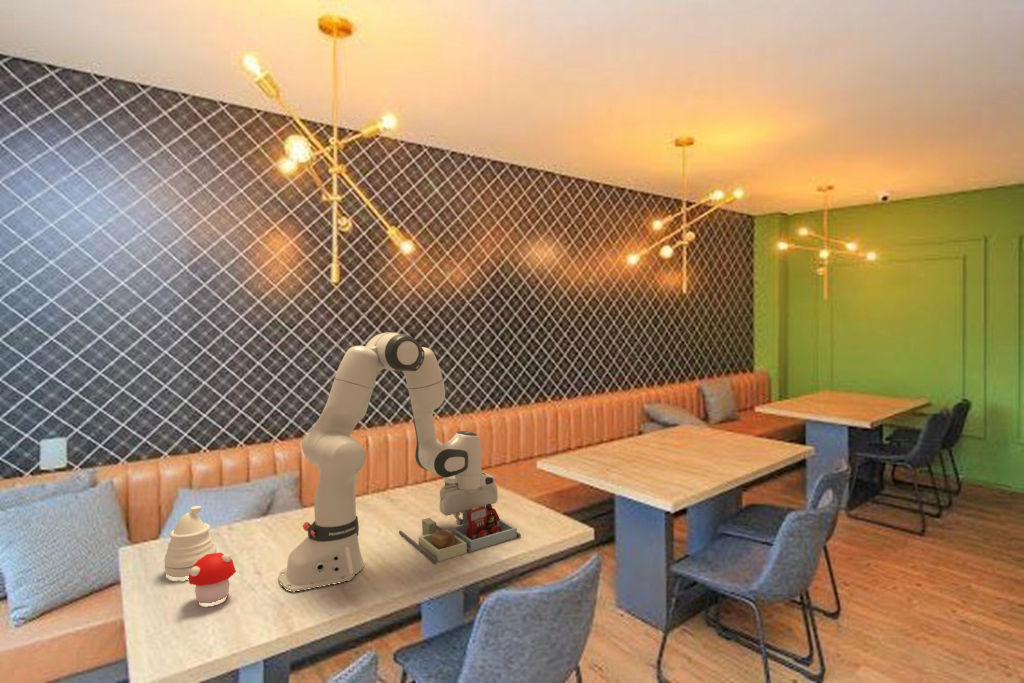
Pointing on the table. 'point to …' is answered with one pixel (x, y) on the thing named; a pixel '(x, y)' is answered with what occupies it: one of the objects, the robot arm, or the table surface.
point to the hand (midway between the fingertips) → (469, 521)
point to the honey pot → (188, 544)
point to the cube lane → (441, 554)
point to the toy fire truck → (483, 522)
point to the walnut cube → (442, 539)
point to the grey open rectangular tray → (486, 541)
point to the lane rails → (425, 550)
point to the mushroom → (212, 577)
